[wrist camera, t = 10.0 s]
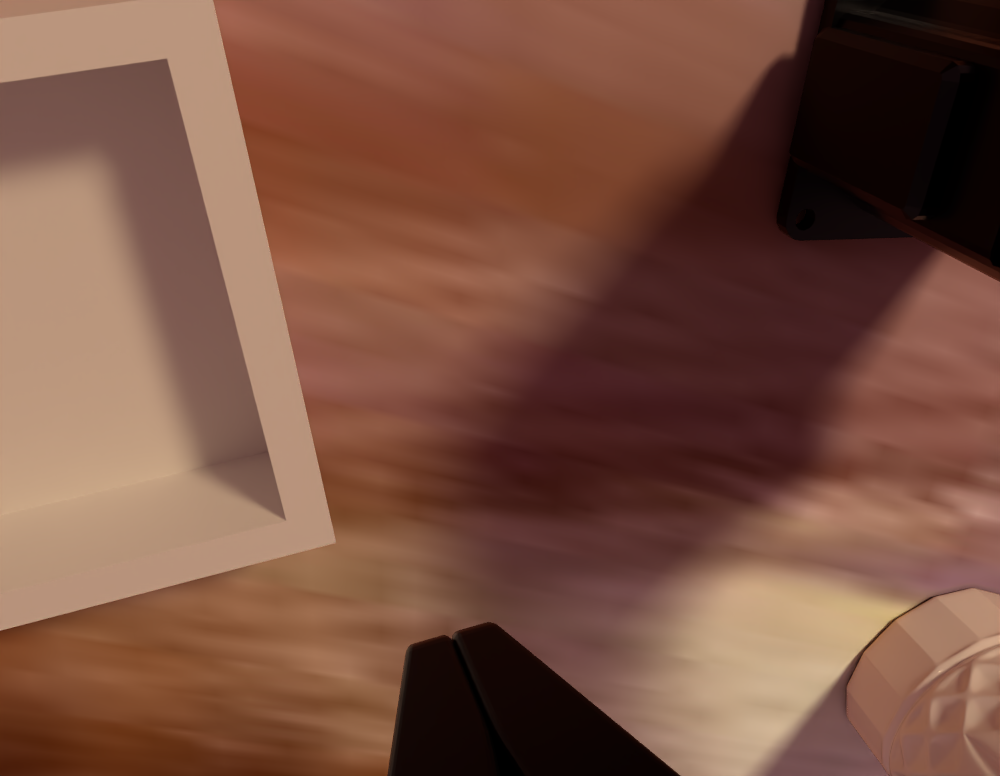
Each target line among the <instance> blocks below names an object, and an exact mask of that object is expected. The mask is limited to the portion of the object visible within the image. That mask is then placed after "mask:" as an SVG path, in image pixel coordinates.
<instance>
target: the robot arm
mask: <svg viewBox="0 0 1000 776" xmlns="http://www.w3.org/2000/svg"><path fill="white" fill-rule="evenodd" d="M803 210H805V216H804V218H803V220H801V221H800V222H799V223H797V224H796V218H797V216H798V214H799V213H800V212H801V211H803ZM777 224H778V227H779V229H780V230H781V231H782V232H783V233H785V234H786V235H788V236H789V237H791V238H793V239H795V240H800V241H803V240H835V239H867V238H900V237H915V238H917V239H919V240H920V241H922V242H924V243H926V244H928V245H930V246H932V247H934V248H936V249H938V250H940V251H942V252H944V253H945V254H947V255H949V256H951V257H953V258H955V259H957V260H959V261H961V262H963V263H965V264H967V265H968V266H970V267H972V268H974V269H976V270H978V271H980V272H982V273H984V274H986V275H988V276H990V277H992V278H993V279H995V280H997V281H999V282H1000V0H825V4H824V9H823V13H822V18H821V22H820V26H819V31H818V35H817V37H816V39H815V41H814V44H813V49H812V53H811V58H810V62H809V66H808V71H807V75H806V80H805V84H804V89H803V93H802V98H801V102H800V106H799V111H798V115H797V120H796V124H795V129H794V133H793V138H792V142H791V146H790V159H789V164H788V168H787V173H786V177H785V181H784V186H783V190H782V195H781V199H780V204H779V208H778V212H777ZM387 776H680V775H679V774H678V773H677V772H675V771H674V770H673V769H672V768H670V767H669V766H668V765H667V764H666V763H664V762H663V761H662V760H661V759H660V758H658V757H657V756H656V755H655V754H653V753H652V752H651V751H650V750H649V749H647V748H646V747H645V746H644V745H643V744H641V743H640V742H639V741H638V740H636V739H635V738H634V737H633V736H632V735H630V734H629V733H628V732H627V731H626V730H624V729H623V728H622V727H621V726H620V725H618V724H617V723H616V722H615V721H613V720H612V719H611V718H610V717H609V716H607V715H606V714H605V713H604V712H603V711H601V710H600V709H599V708H598V707H596V706H595V705H594V704H593V703H592V702H590V701H589V700H588V699H587V698H586V697H584V696H583V695H582V694H581V693H579V692H578V691H577V690H576V689H575V688H573V687H572V686H571V685H570V684H569V683H567V682H566V681H565V680H564V679H563V678H561V677H560V676H559V675H558V674H556V673H555V672H554V671H553V670H552V669H550V668H549V667H548V666H547V665H546V664H544V663H543V662H542V661H541V660H539V659H538V658H537V657H536V656H535V655H533V654H532V653H531V652H530V651H529V650H527V649H526V648H525V647H524V646H522V645H521V644H520V643H519V642H518V641H516V640H515V639H514V638H513V637H512V636H510V635H509V634H508V633H507V632H505V631H504V630H503V629H502V628H501V627H499V626H498V625H497V624H495V623H491V622H487V623H483V624H480V625H476V626H473V627H469V628H466V629H462V630H459V631H457V632H455V633H454V635H453V636H452V640H451V638H449V637H448V636H446V635H442V636H438V637H435V638H431V639H428V640H425V641H421V642H418V643H414V644H412V645H410V646H409V647H408V649H407V651H406V655H405V661H404V668H403V675H402V681H401V688H400V695H399V701H398V708H397V715H396V722H395V728H394V735H393V742H392V749H391V755H390V762H389V769H388V775H387Z"/></svg>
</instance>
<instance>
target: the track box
mask: <svg viewBox="0 0 1000 776" xmlns="http://www.w3.org/2000/svg"><path fill="white" fill-rule="evenodd" d="M333 543H336V540H335V536H334V532H333V527H332V523H331V518H330V514H329V509H328V505H327V501H326V496H325V492H324V487H323V483H322V479H321V474H320V470H319V465H318V461H317V457H316V452H315V448H314V443H313V439H312V435H311V430H310V426H309V421H308V417H307V413H306V408H305V404H304V399H303V395H302V390H301V386H300V382H299V377H298V373H297V368H296V364H295V360H294V355H293V351H292V346H291V342H290V338H289V333H288V329H287V324H286V320H285V316H284V311H283V307H282V302H281V298H280V294H279V289H278V285H277V280H276V276H275V272H274V267H273V263H272V258H271V254H270V249H269V245H268V241H267V236H266V232H265V227H264V223H263V219H262V214H261V210H260V205H259V201H258V197H257V192H256V188H255V183H254V179H253V175H252V170H251V166H250V161H249V157H248V153H247V148H246V144H245V139H244V135H243V131H242V126H241V122H240V117H239V113H238V108H237V104H236V100H235V95H234V91H233V86H232V82H231V78H230V73H229V69H228V64H227V60H226V56H225V51H224V47H223V42H222V38H221V34H220V29H219V25H218V20H217V16H216V12H215V7H214V3H213V0H0V631H1V630H4V629H8V628H12V627H16V626H20V625H24V624H27V623H31V622H35V621H39V620H43V619H47V618H50V617H54V616H58V615H62V614H66V613H69V612H73V611H77V610H81V609H85V608H89V607H92V606H96V605H100V604H104V603H108V602H112V601H115V600H119V599H123V598H127V597H131V596H134V595H138V594H142V593H146V592H150V591H154V590H157V589H161V588H165V587H169V586H173V585H176V584H180V583H184V582H188V581H192V580H196V579H199V578H203V577H207V576H211V575H215V574H219V573H222V572H226V571H230V570H234V569H238V568H241V567H245V566H249V565H253V564H257V563H261V562H264V561H268V560H272V559H276V558H280V557H284V556H287V555H291V554H295V553H299V552H303V551H306V550H310V549H314V548H318V547H322V546H326V545H329V544H333Z"/></svg>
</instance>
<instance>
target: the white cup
mask: <svg viewBox="0 0 1000 776" xmlns="http://www.w3.org/2000/svg"><path fill="white" fill-rule="evenodd" d="M847 717H848V719H849V721H850V722H851V724H852V725H853V726H854V728H855V729H856V731H857V732H858V733H859V735H860V736H861V737H862V739H863V740H864V742H865V743H866V744H867V746H868V747H869V748H870V750H871V751H872V753H873V754H874V755H875V757H876V758H877V759H878V761H879V762H880V763H881V765H882V766H883V768H884V769H885V771H886V772H887V774H888V775H889V776H1000V594H996V593H992V592H988V591H984V590H980V589H976V588H969V589H965V590H960V591H956V592H952V593H948V594H944V595H940V596H936V597H933V598H931V599H930V600H928V601H926V602H924V603H923V604H921V605H919V606H917V607H916V608H914V609H912V610H910V611H909V612H907V613H906V614H904V615H902V616H901V617H899V618H898V619H896V620H895V621H894V622H893V623H892V624H891V625H890V626H889V627H888V628H887V629H886V630H885V631H884V632H883V633H882V634H880V635H879V636H878V638H877V639H876V640H875V641H874V642H873V643H872V644H871V645H870V646H869V647H868V648H867V649H866V650H865V651H864V653H863V655H862V656H861V658H860V661H859V662H858V664H857V666H856V668H855V670H854V672H853V674H852V677H851V679H850V681H849V683H848V685H847Z"/></svg>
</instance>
